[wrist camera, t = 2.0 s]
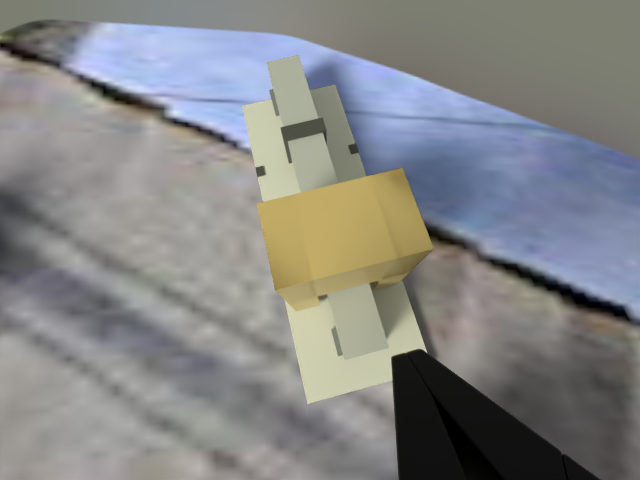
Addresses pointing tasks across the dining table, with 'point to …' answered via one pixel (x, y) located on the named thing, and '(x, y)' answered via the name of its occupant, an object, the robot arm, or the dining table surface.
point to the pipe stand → (307, 174)
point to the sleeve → (343, 237)
